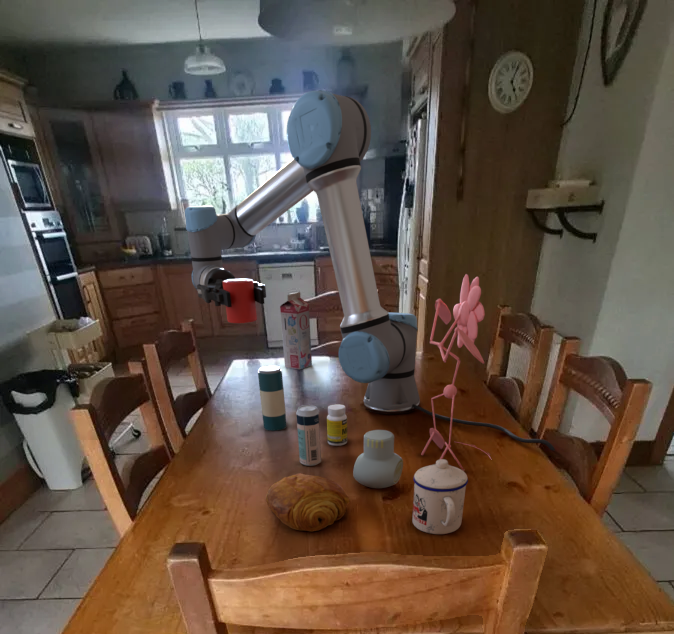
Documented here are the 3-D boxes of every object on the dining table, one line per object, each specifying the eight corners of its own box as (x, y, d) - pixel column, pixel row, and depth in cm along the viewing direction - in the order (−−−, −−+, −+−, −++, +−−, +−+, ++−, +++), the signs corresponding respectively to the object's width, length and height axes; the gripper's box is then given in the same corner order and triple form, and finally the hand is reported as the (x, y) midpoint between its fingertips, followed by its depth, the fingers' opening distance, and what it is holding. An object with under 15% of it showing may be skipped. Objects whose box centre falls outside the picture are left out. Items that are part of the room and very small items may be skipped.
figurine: (442, 489, 108) (461, 287, 87) (407, 442, 128) (416, 269, 107) (515, 481, 110) (551, 282, 89) (470, 436, 130) (490, 265, 109)
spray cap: (262, 318, 124) (259, 278, 119) (244, 324, 119) (239, 282, 115) (240, 316, 127) (235, 277, 122) (221, 321, 122) (215, 281, 117)
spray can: (291, 424, 140) (286, 366, 132) (277, 432, 136) (271, 372, 128) (272, 421, 143) (267, 364, 134) (259, 428, 139) (252, 369, 130)
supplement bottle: (345, 446, 127) (344, 410, 122) (325, 445, 128) (324, 409, 123) (349, 439, 131) (348, 403, 126) (330, 438, 132) (328, 403, 127)
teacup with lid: (405, 513, 101) (408, 452, 94) (453, 509, 101) (460, 448, 94) (422, 547, 91) (427, 482, 84) (475, 541, 92) (484, 477, 85)
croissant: (286, 551, 95) (283, 513, 90) (258, 503, 105) (254, 466, 100) (361, 530, 99) (362, 493, 94) (327, 486, 109) (327, 450, 104)
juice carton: (311, 365, 188) (308, 292, 175) (300, 369, 183) (295, 295, 170) (296, 362, 191) (291, 291, 178) (284, 367, 186) (279, 294, 173)
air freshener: (390, 496, 106) (391, 447, 100) (350, 491, 109) (349, 442, 102) (404, 474, 114) (406, 427, 108) (367, 469, 117) (367, 423, 111)
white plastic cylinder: (324, 459, 122) (322, 405, 114) (316, 468, 118) (313, 412, 111) (304, 457, 123) (300, 403, 116) (296, 465, 119) (292, 410, 112)
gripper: (259, 299, 139) (290, 313, 122) (182, 306, 132) (203, 322, 116) (255, 264, 134) (287, 274, 117) (175, 270, 128) (197, 281, 111)
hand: (245, 298), depth 116 cm, fingers closed on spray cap, 7 cm apart
